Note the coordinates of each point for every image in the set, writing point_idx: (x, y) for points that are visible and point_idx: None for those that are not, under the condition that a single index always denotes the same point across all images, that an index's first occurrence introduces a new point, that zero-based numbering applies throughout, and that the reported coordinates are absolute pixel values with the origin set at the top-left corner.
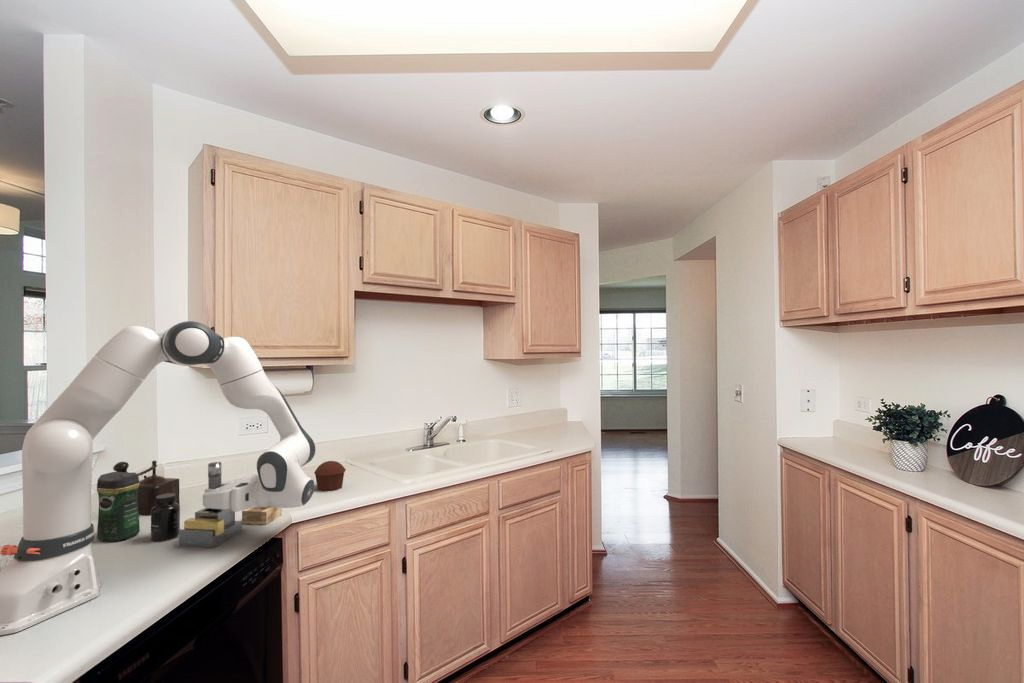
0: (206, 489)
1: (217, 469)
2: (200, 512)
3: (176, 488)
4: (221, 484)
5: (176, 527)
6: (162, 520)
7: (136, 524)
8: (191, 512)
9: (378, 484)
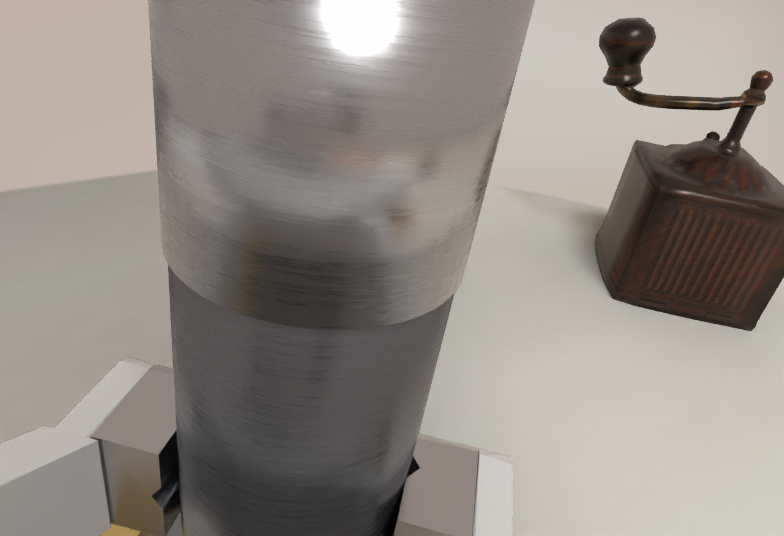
0: (108, 372)
1: (177, 67)
2: (169, 534)
3: (775, 253)
4: (419, 504)
5: None
6: None
7: None
8: (702, 402)
9: None
